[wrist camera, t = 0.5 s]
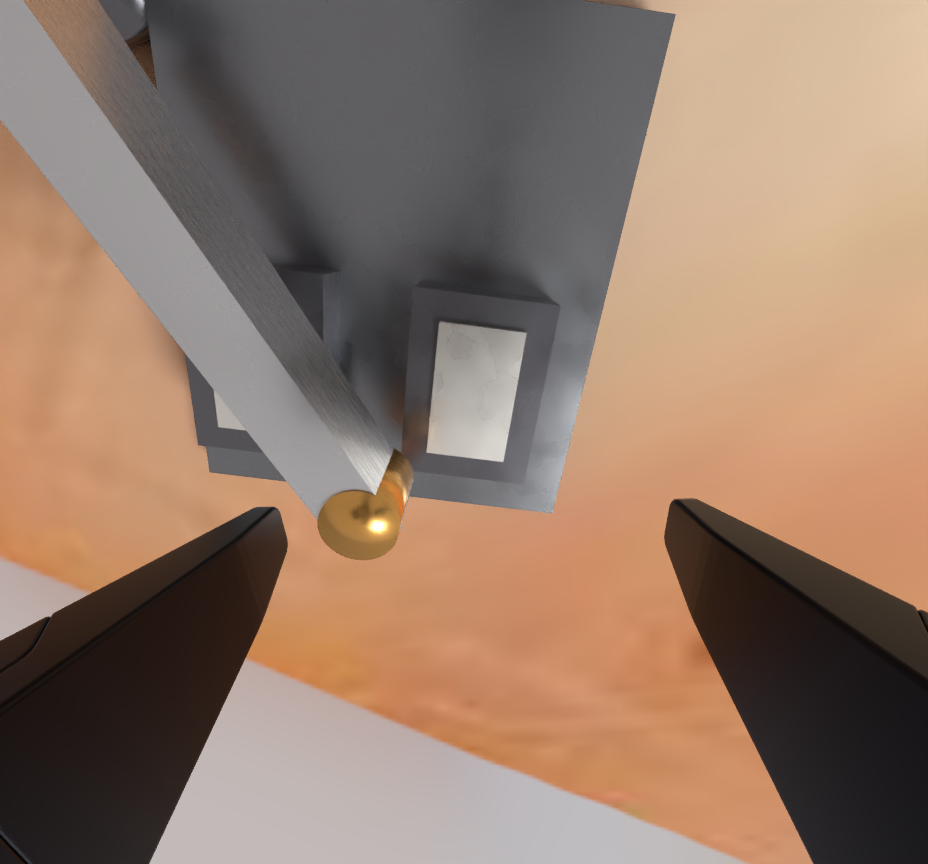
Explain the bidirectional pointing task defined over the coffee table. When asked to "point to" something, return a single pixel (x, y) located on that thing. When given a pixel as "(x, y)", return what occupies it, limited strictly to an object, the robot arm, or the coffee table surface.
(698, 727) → the coffee table surface
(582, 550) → the coffee table surface
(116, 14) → the pivot post
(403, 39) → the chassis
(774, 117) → the coffee table surface
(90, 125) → the cable arm
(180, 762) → the robot arm
